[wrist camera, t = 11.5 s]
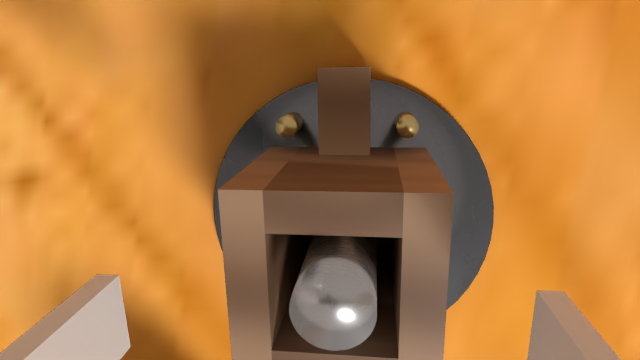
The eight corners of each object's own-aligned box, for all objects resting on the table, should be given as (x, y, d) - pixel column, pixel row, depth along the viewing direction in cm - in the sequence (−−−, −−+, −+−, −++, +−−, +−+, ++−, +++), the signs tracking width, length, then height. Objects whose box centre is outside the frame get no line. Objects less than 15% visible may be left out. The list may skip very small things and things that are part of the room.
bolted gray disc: (479, 344, 25) (539, 506, 16) (226, 329, 27) (150, 466, 18) (504, 74, 21) (603, 83, 12) (205, 78, 23) (93, 89, 14)
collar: (419, 290, 24) (440, 398, 16) (277, 284, 25) (233, 382, 17) (429, 65, 21) (461, 67, 13) (266, 68, 22) (207, 71, 14)
